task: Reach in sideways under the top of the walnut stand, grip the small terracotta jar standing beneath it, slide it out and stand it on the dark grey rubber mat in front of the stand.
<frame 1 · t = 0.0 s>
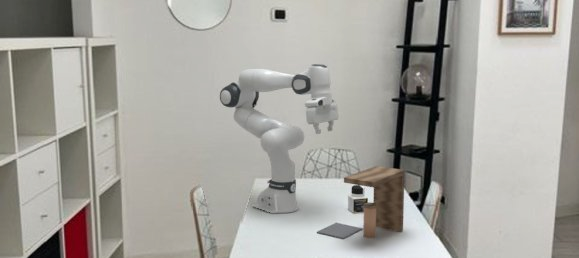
hand: (324, 132, 252), 39 cm above the table, tool pointing down, fingers open, 8 cm apart
medicine bottle: (357, 211, 267), on the table
grey mat: (339, 231, 238), on the table
terracotta jar: (369, 236, 232), on the table
walnut stand: (369, 236, 232), on the table
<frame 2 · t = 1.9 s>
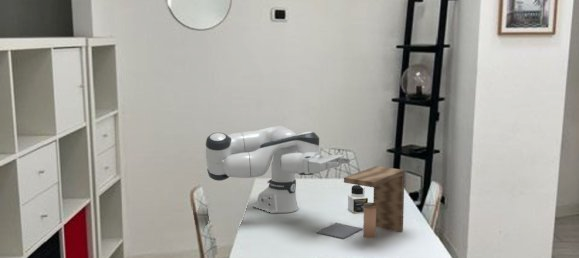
hand: (344, 162, 231), 30 cm above the table, tool horizontal, fingers open, 8 cm apart
nothing on the table moved.
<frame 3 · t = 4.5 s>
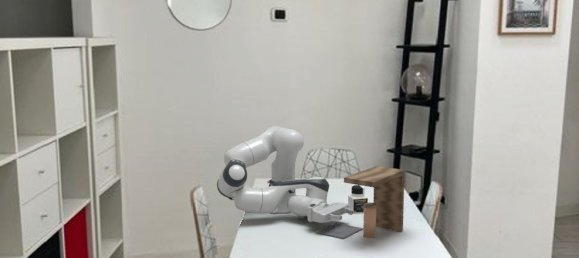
hand: (347, 215, 237), 7 cm above the table, tool horizontal, fingers open, 8 cm apart
nothing on the table moved.
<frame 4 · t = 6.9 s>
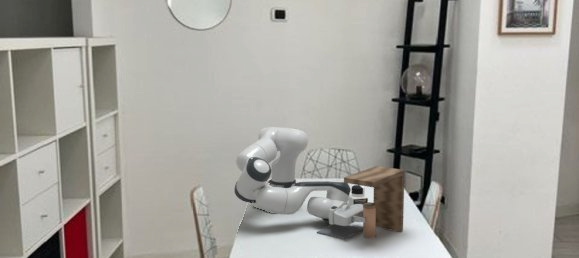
hand: (369, 218, 231), 8 cm above the table, tool horizontal, fingers closed on terracotta jar, 5 cm apart
terracotta jar: (369, 235, 232), on the table, touching gripper
everything else where it was.
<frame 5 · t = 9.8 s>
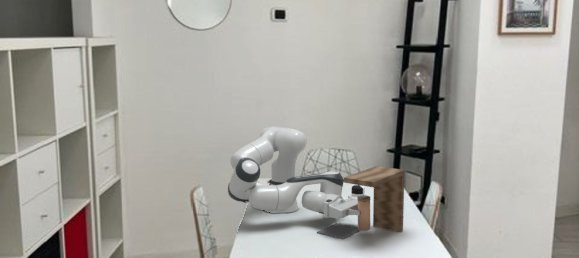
hand: (364, 211, 232), 10 cm above the table, tool horizontal, fingers closed on terracotta jar, 5 cm apart
terracotta jar: (364, 228, 234), point 3 cm above the table, touching gripper
everything else where it was.
when the fingers open (9 cm above the table, at t = 13.0 s): terracotta jar stays where it is, resting on grey mat.
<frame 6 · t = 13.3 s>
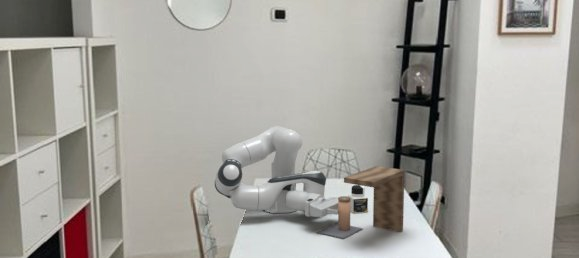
hand: (344, 209, 238), 9 cm above the table, tool horizontal, fingers open, 8 cm apart
terracotta jar: (344, 228, 239), point 1 cm above the table, touching grey mat
everything else where it was.
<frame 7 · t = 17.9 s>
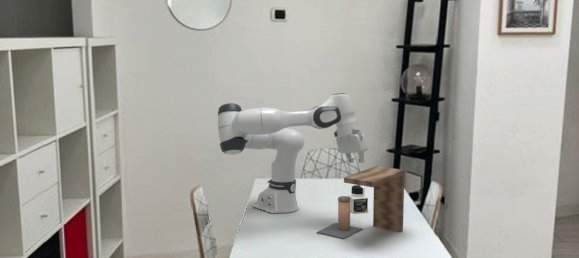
hand: (356, 162, 239), 28 cm above the table, tool tilted 15°, fingers open, 8 cm apart
nothing on the table moved.
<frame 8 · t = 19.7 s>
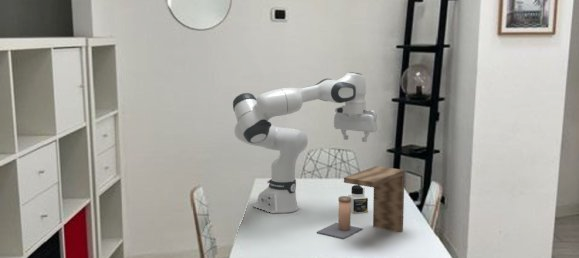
hand: (355, 140, 252), 35 cm above the table, tool pointing down, fingers open, 8 cm apart
nothing on the table moved.
at the end: terracotta jar inside the target area on the grey mat (1.9 cm from its centre), point 0.7 cm above the grey mat's base; terracotta jar tilted 3°; the gripper is holding nothing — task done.
